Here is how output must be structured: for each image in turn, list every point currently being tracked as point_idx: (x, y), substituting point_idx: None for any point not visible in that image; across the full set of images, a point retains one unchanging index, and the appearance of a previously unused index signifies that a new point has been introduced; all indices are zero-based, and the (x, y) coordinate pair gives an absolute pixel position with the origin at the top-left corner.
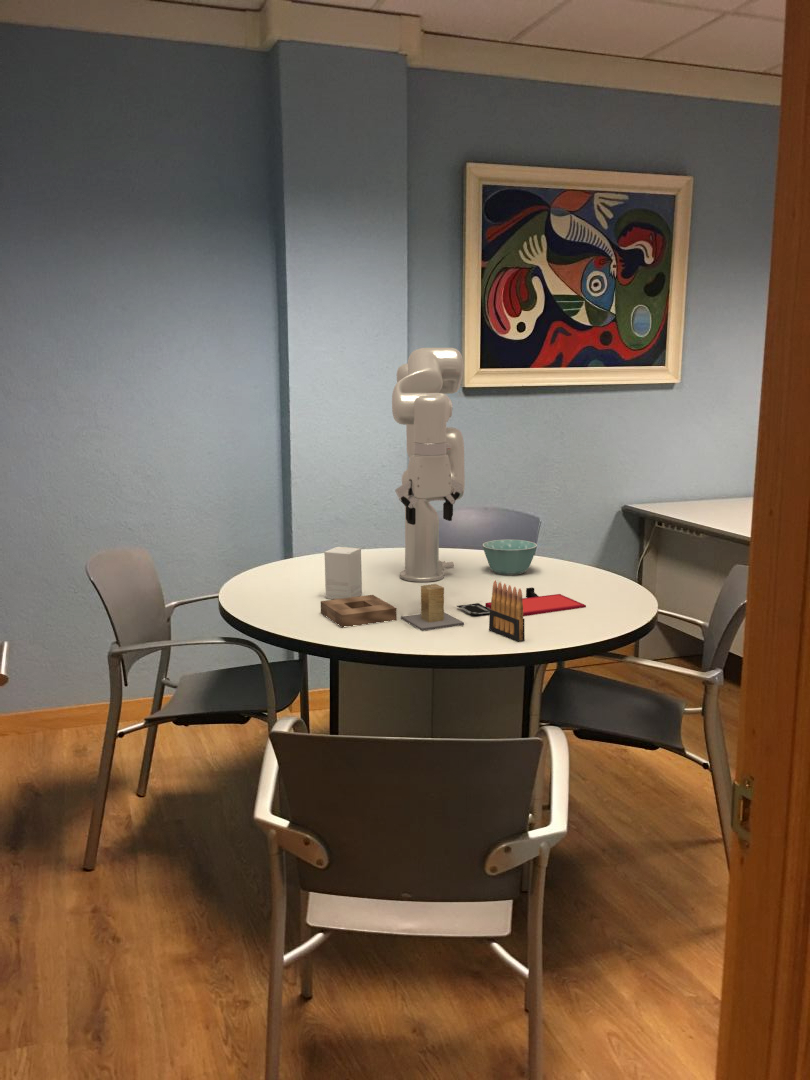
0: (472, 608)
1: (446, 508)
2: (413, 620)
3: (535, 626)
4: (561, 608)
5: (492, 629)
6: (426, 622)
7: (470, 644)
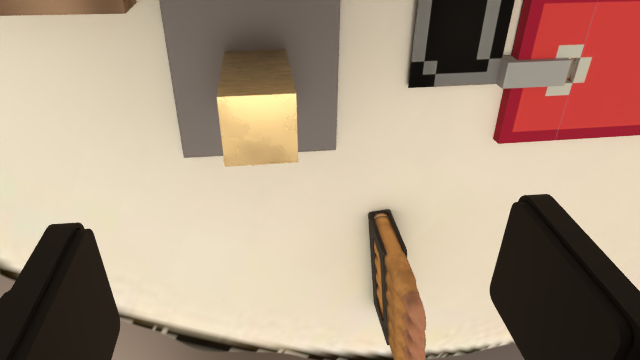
0: (456, 15)
1: (561, 347)
2: (187, 65)
3: (494, 223)
4: None
5: (370, 230)
6: None
7: (263, 286)
